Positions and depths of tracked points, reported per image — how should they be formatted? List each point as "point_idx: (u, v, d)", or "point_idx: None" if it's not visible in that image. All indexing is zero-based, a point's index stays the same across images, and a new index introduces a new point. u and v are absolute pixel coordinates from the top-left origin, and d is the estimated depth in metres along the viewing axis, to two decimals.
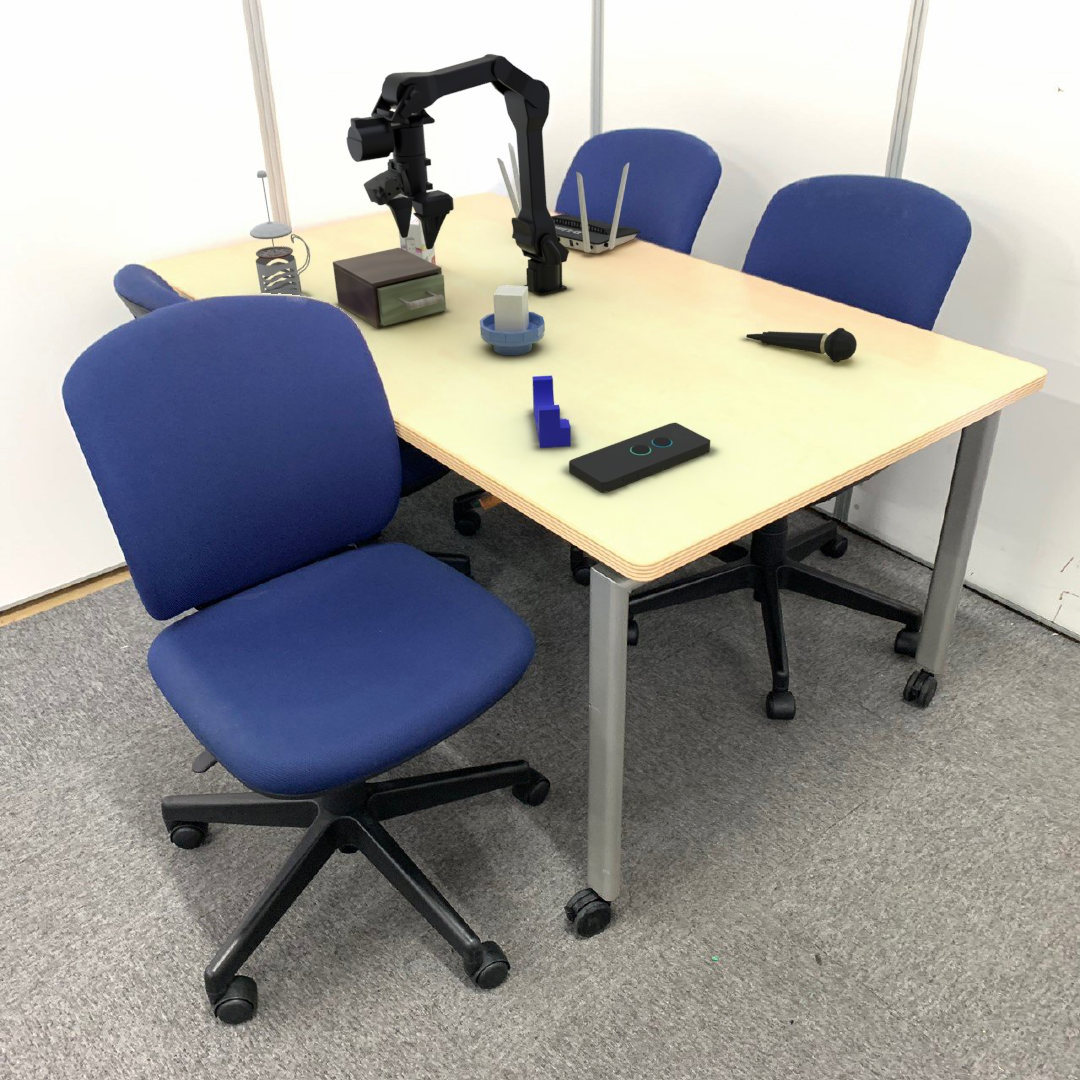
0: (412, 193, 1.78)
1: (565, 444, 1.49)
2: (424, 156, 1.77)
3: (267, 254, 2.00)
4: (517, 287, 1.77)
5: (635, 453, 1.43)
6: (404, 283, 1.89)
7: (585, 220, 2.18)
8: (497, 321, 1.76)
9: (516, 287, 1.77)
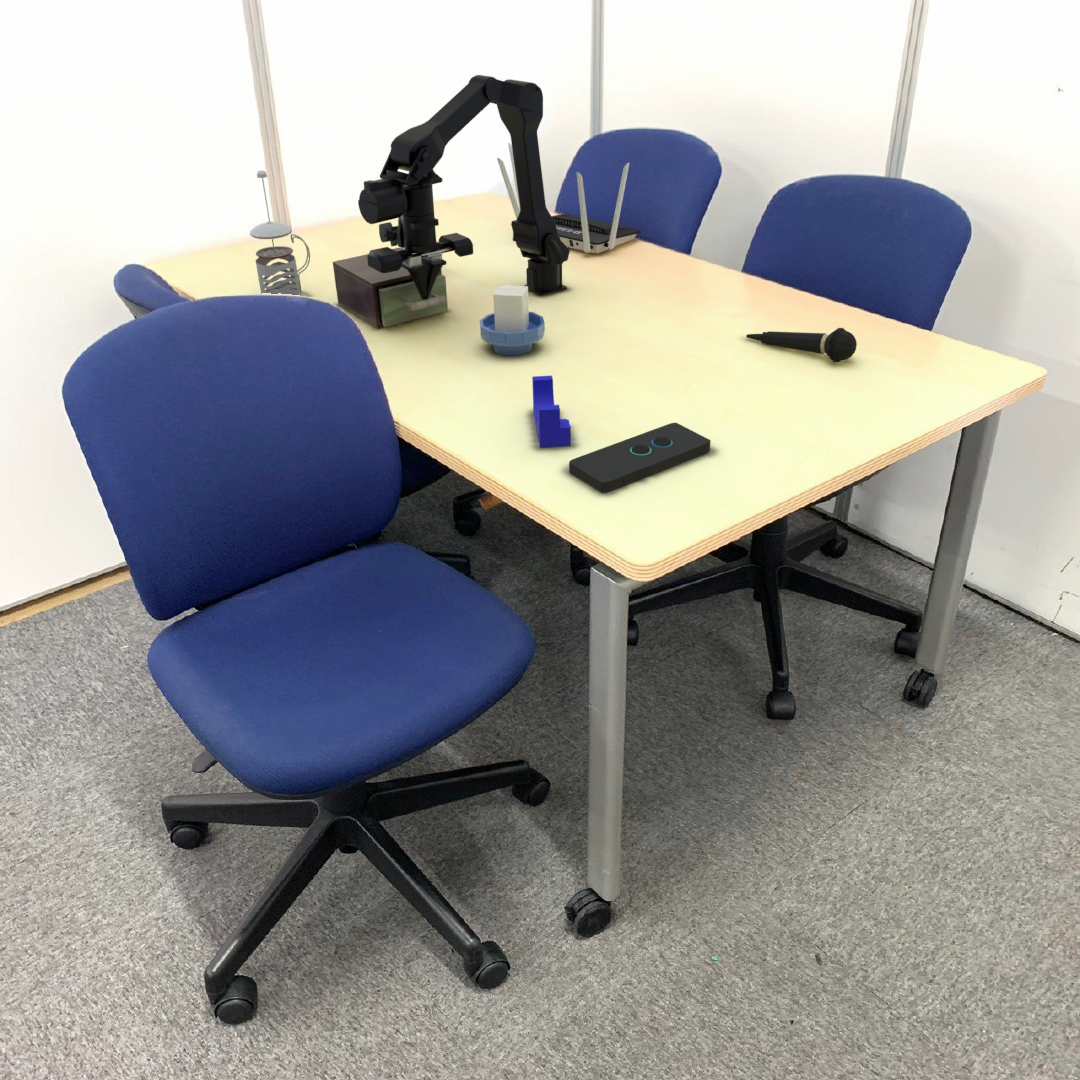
0: None
1: (565, 444, 1.49)
2: (411, 219, 1.77)
3: (267, 254, 2.00)
4: (517, 287, 1.77)
5: (635, 453, 1.43)
6: (406, 284, 1.88)
7: (585, 220, 2.18)
8: (497, 321, 1.76)
9: (516, 287, 1.77)
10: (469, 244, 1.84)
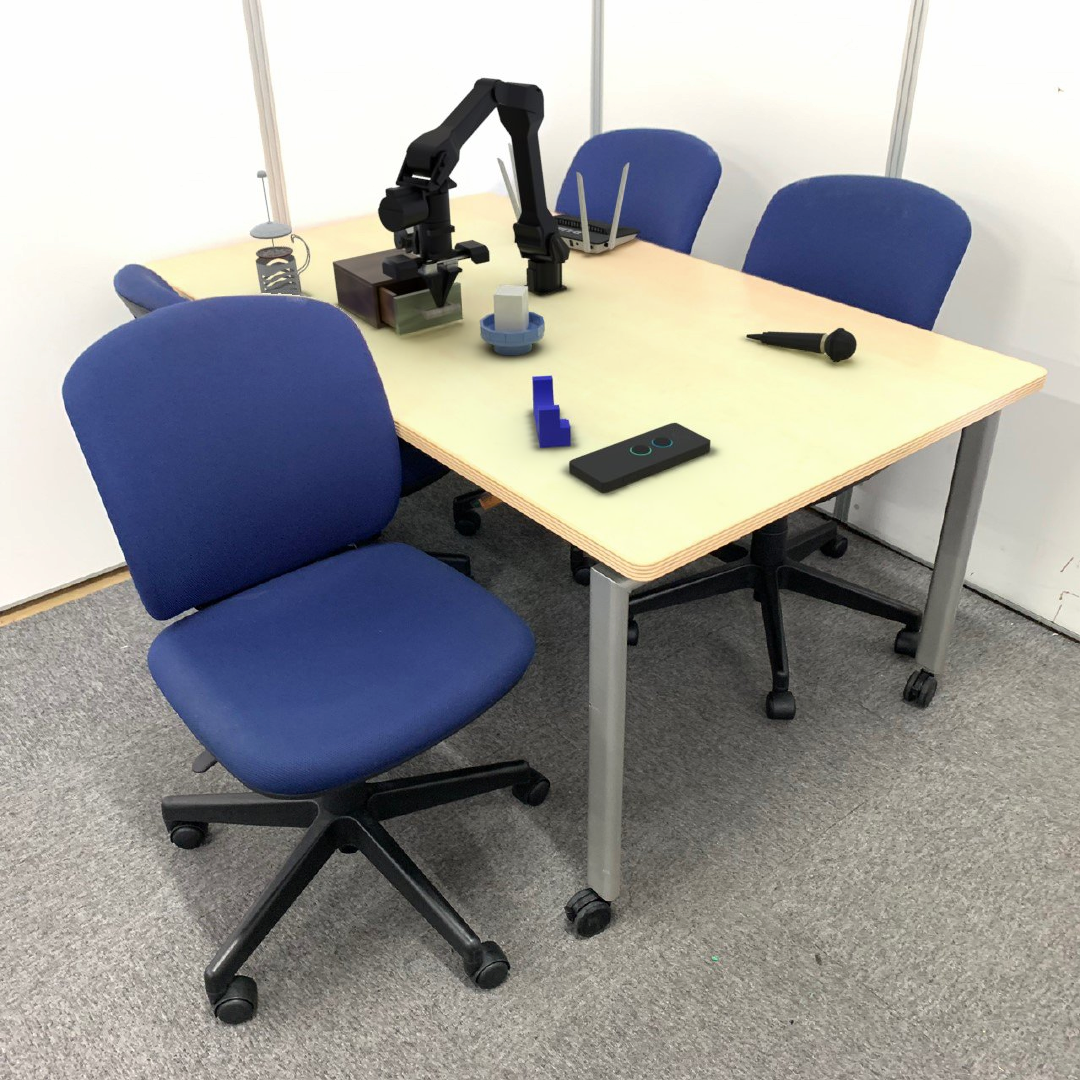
0: None
1: (565, 444, 1.49)
2: (427, 225, 1.73)
3: (267, 254, 2.00)
4: (517, 287, 1.77)
5: (635, 453, 1.43)
6: (420, 292, 1.84)
7: (585, 220, 2.18)
8: (497, 321, 1.76)
9: (516, 287, 1.77)
10: (486, 251, 1.80)
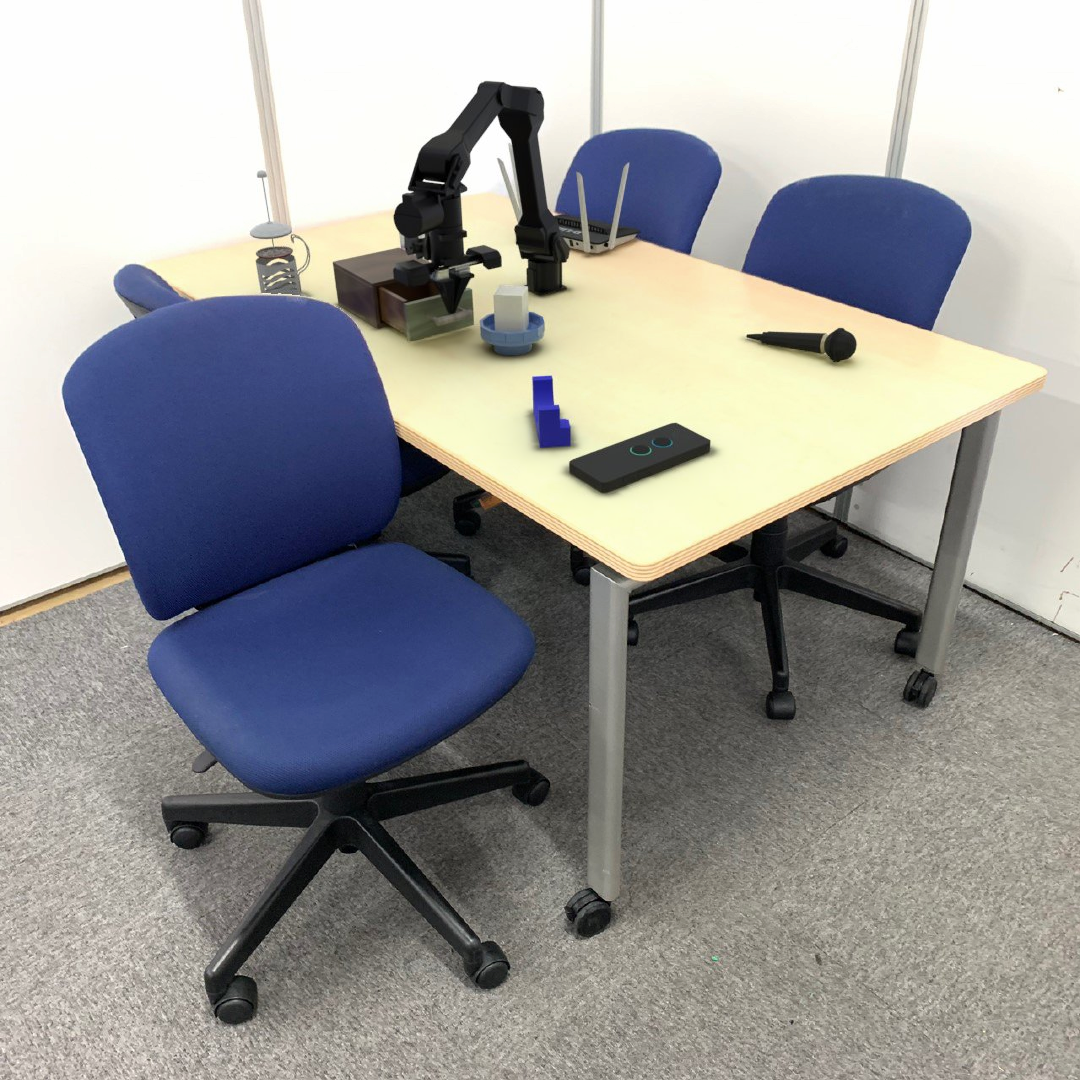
0: (431, 260, 1.75)
1: (565, 444, 1.49)
2: (439, 230, 1.70)
3: (267, 254, 2.00)
4: (517, 287, 1.77)
5: (635, 453, 1.43)
6: (432, 298, 1.82)
7: (585, 220, 2.18)
8: (497, 321, 1.76)
9: (516, 287, 1.77)
10: (498, 256, 1.78)
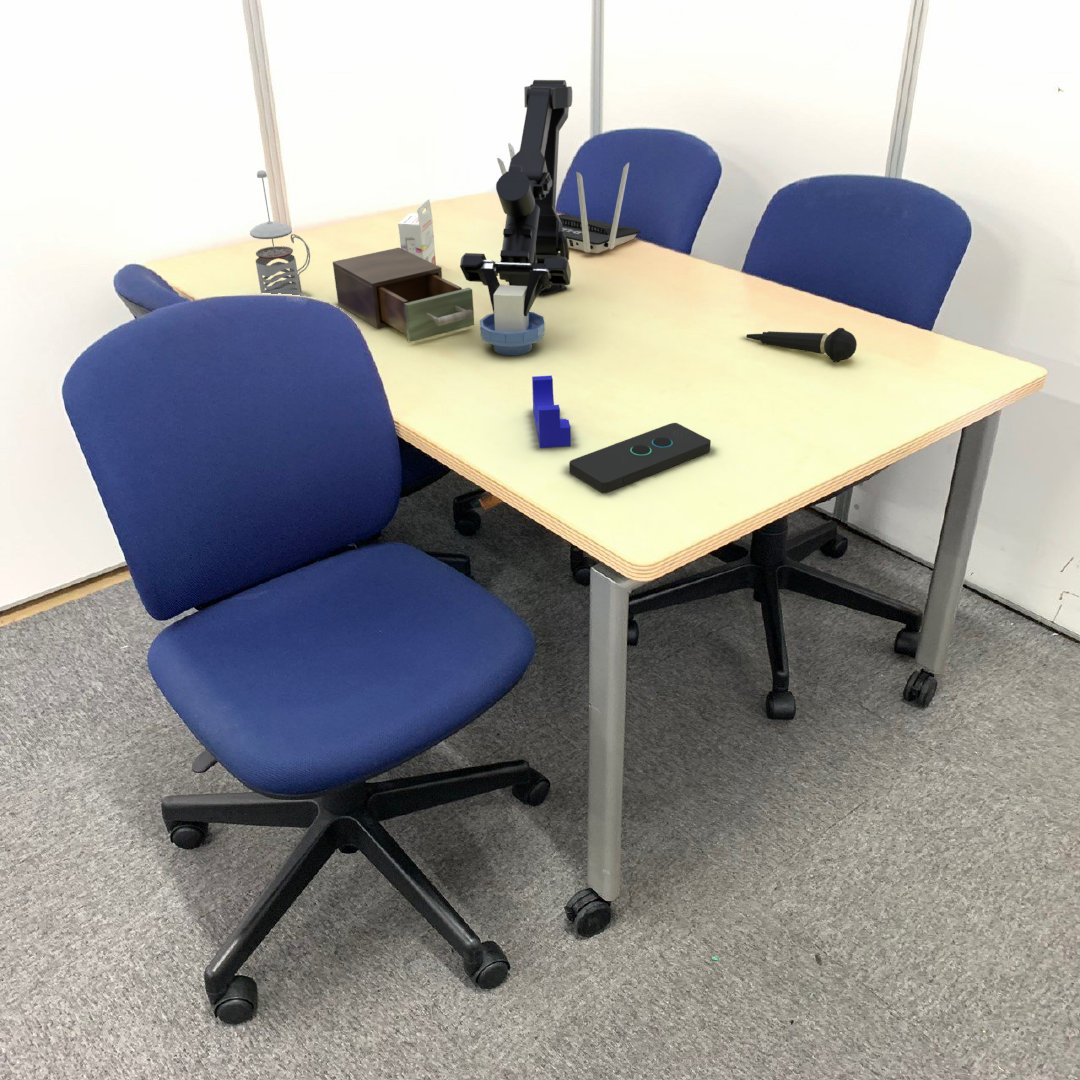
0: (504, 267, 1.80)
1: (565, 444, 1.49)
2: (506, 228, 1.78)
3: (267, 254, 2.00)
4: (517, 287, 1.77)
5: (635, 453, 1.43)
6: (432, 298, 1.81)
7: (585, 220, 2.18)
8: (497, 321, 1.76)
9: (516, 287, 1.77)
10: (561, 258, 1.74)
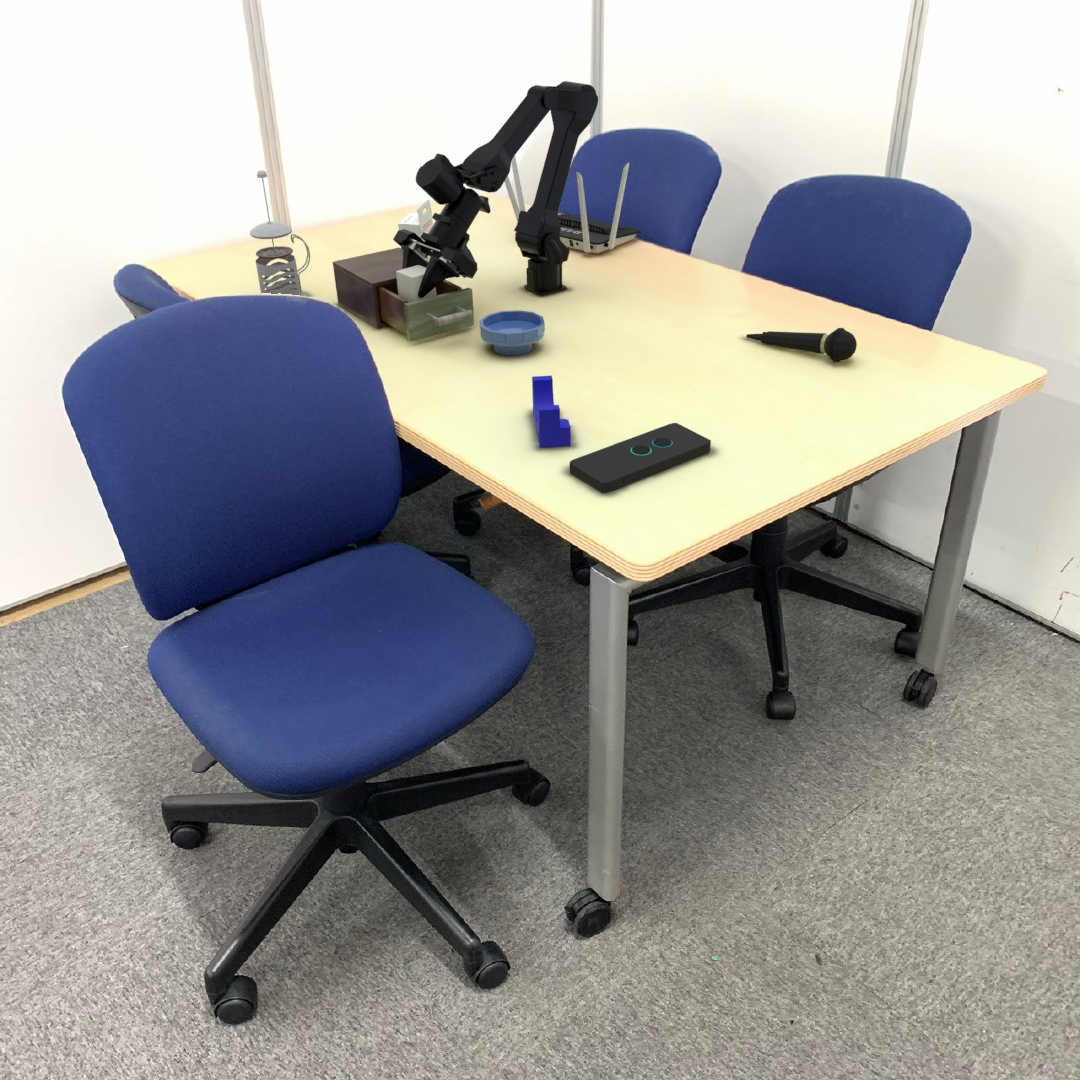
0: None
1: (565, 444, 1.49)
2: None
3: (267, 254, 2.00)
4: (425, 270, 1.84)
5: (635, 453, 1.43)
6: (432, 298, 1.81)
7: (585, 220, 2.18)
8: None
9: (424, 269, 1.85)
10: (455, 250, 1.78)
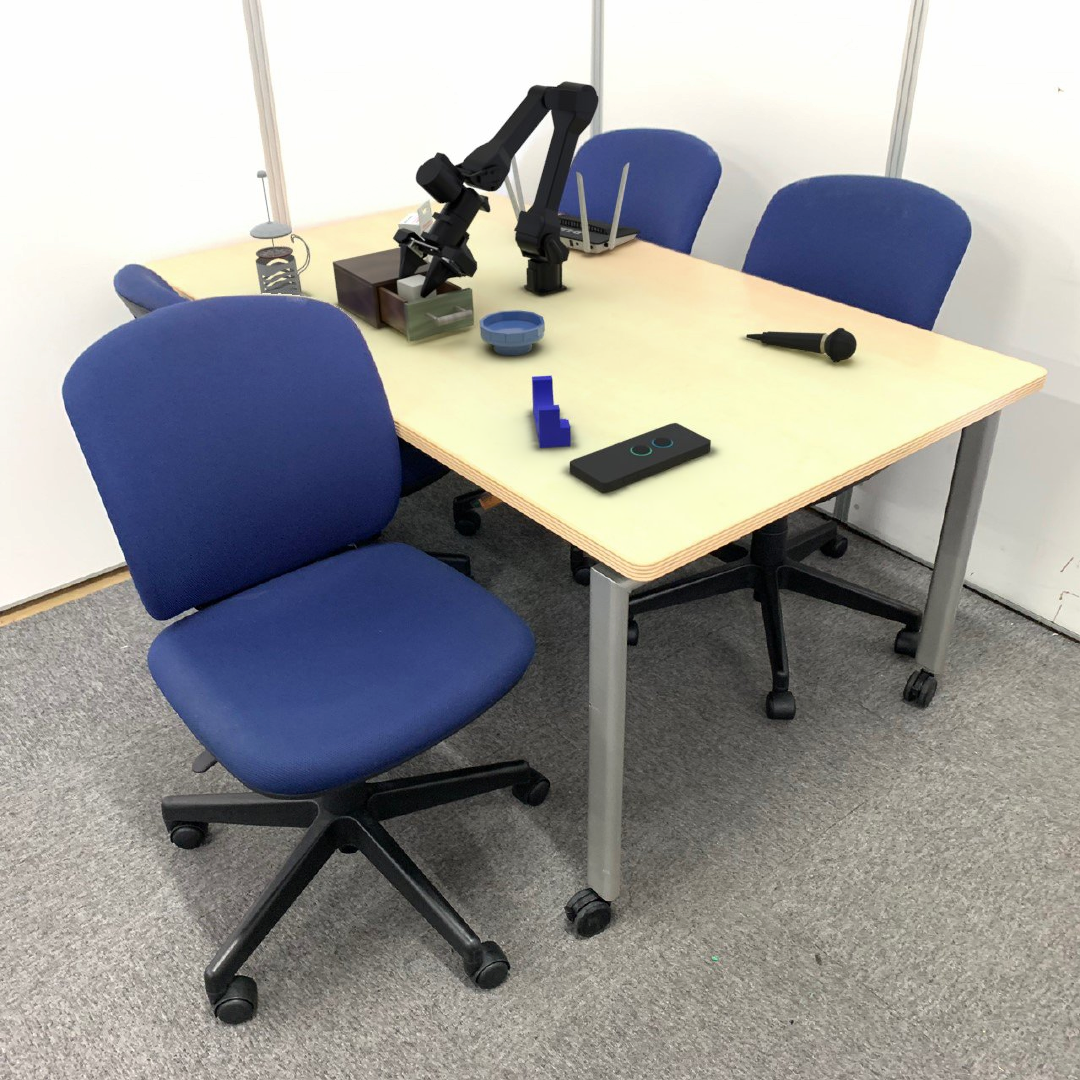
0: None
1: (565, 444, 1.49)
2: None
3: (267, 254, 2.00)
4: None
5: (636, 453, 1.43)
6: (432, 298, 1.81)
7: (585, 220, 2.18)
8: None
9: None
10: (455, 249, 1.78)
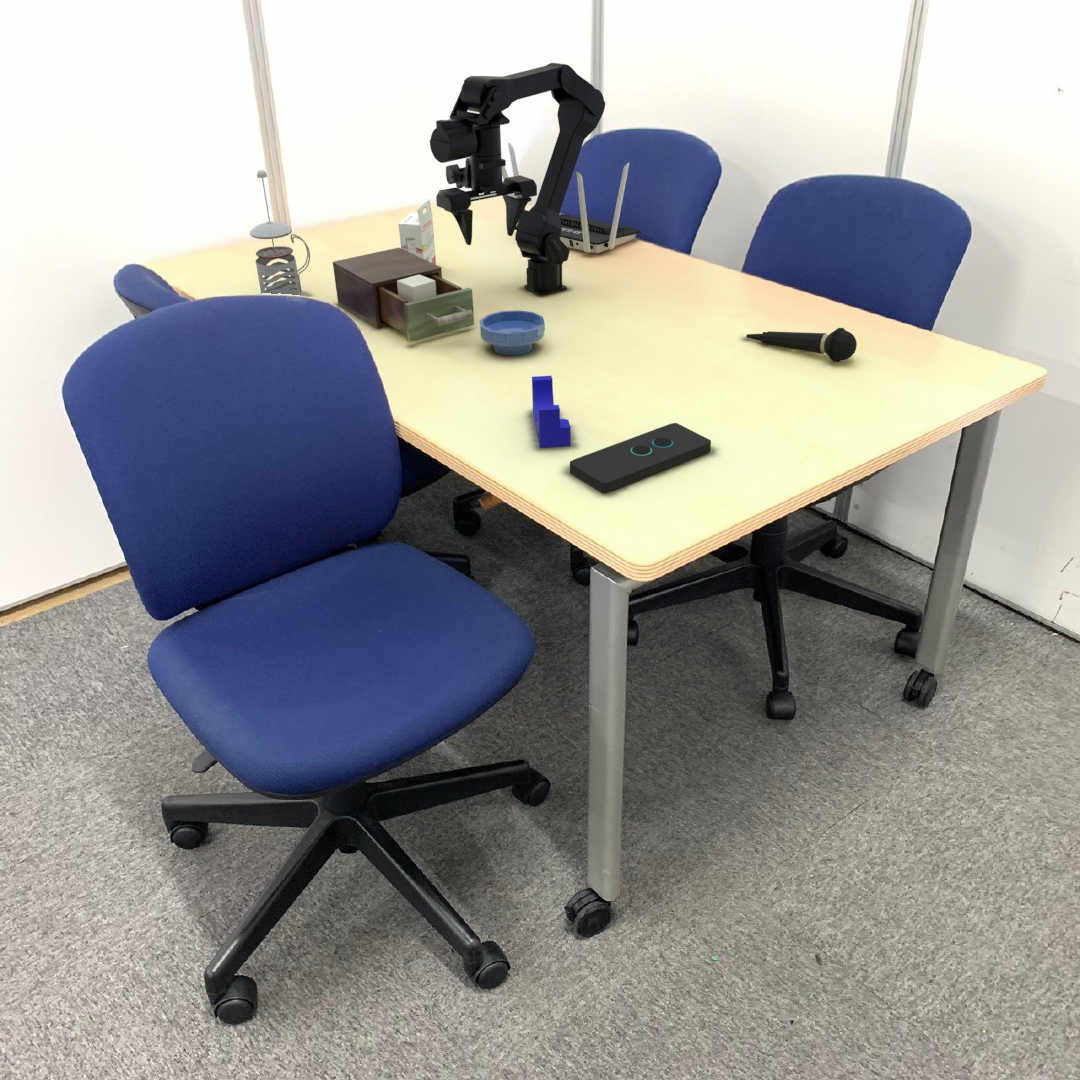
0: (471, 188, 1.87)
1: (565, 444, 1.49)
2: (480, 159, 1.82)
3: (267, 254, 2.00)
4: (425, 279, 1.85)
5: (636, 453, 1.43)
6: (432, 298, 1.81)
7: (585, 220, 2.18)
8: None
9: (425, 279, 1.86)
10: (533, 185, 1.89)
